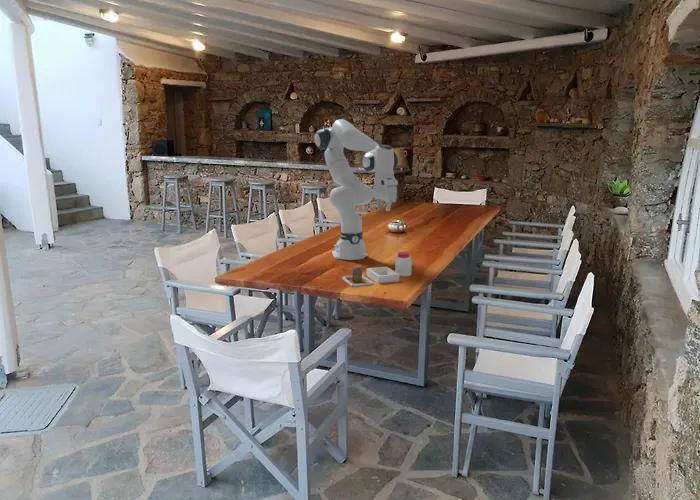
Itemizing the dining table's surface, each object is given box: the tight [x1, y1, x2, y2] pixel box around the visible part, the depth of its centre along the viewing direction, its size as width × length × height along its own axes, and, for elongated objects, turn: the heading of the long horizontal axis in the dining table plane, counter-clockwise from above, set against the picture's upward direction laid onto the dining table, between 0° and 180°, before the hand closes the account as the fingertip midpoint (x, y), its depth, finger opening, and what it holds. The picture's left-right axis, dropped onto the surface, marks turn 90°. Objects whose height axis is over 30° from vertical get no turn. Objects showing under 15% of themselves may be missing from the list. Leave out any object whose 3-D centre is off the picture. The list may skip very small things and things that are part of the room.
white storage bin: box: [365, 266, 400, 284], centre depth 248 cm, size 14×10×4 cm
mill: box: [351, 266, 363, 284], centre depth 243 cm, size 4×4×6 cm
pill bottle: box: [394, 251, 413, 277], centre depth 254 cm, size 8×8×11 cm
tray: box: [341, 274, 374, 288], centre depth 244 cm, size 14×10×2 cm
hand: (383, 209), depth 253 cm, fingers open, 8 cm apart
